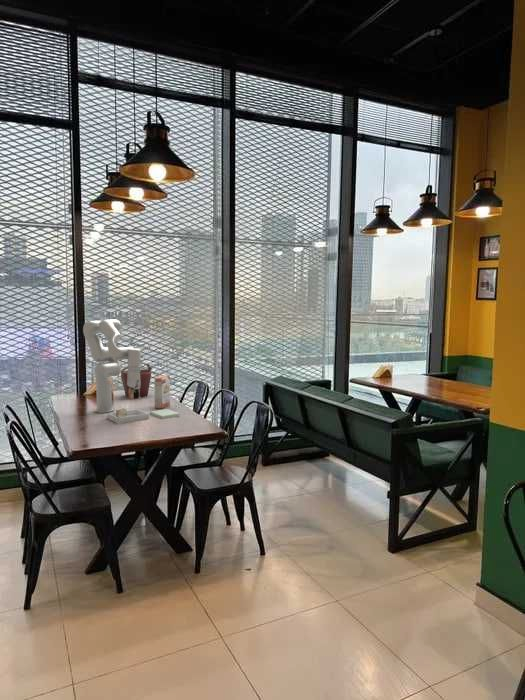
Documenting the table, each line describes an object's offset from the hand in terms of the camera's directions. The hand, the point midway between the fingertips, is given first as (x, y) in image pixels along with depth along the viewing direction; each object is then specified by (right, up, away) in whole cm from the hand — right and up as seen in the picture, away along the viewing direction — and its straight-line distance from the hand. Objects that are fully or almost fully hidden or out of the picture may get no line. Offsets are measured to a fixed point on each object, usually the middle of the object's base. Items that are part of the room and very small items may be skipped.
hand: (134, 397), depth 307 cm
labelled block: (0, -1, 0) cm, 1 cm away
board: (+17, -12, +8) cm, 23 cm away
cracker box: (+11, -10, +33) cm, 37 cm away
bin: (-3, -13, -2) cm, 14 cm away
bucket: (-16, -6, +71) cm, 73 cm away
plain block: (-7, -13, -5) cm, 15 cm away
